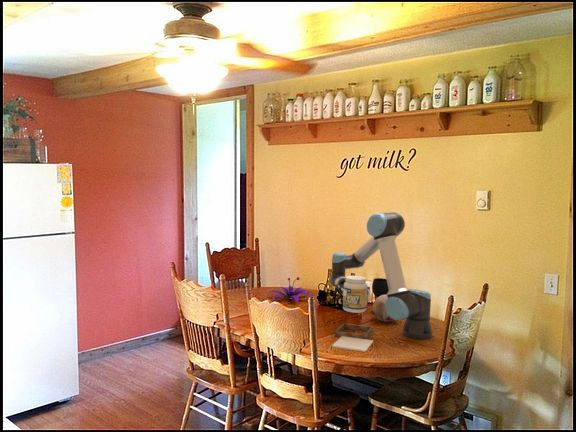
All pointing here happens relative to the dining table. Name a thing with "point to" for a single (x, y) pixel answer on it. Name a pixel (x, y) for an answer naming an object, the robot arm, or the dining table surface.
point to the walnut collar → (354, 327)
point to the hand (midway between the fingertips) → (357, 293)
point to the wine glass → (379, 287)
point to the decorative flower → (291, 292)
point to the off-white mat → (353, 343)
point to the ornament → (381, 309)
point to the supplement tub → (355, 294)
